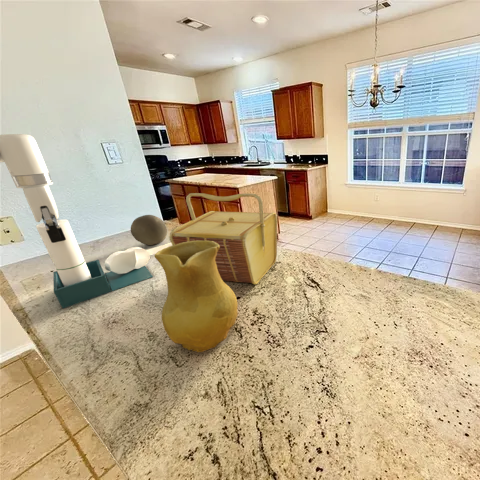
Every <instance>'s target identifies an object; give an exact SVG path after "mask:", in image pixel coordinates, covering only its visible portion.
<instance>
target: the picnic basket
mask: <svg viewBox="0 0 480 480" xmlns="http://www.w3.org/2000/svg"><path fill="white" fill-rule="evenodd" d="M192 197H202V198H205V199H206V200H210V201H214V202H232V201H237V200H239V199H240V198H242V197H243V198H244V197H245V198H246V197H252V198H255V199H257V202H258V212H252V211H249V212H248V211H214V210H210V211H208V212H206V213H204V214H201V215H200V216H197V217H196V215H195V211H194V208H193V205H192V202H191V198H192ZM185 198H186V199H185V202H186V204H187V209H188V211H189V214H190V217H191V220H189V221H187V222H185V223H183V224H181V225H179V226H177V227H174V228H173V229H172V230H171V231H170V233H169V238H168V239H169V241H170V243H172V245H176V244H179V243H183V242H189V241H201V240H202V241H213V242H216V243H218V244H219V246H220V248H219V250H218V252H217V255H216V258H215V262H216V265H217V269H218V272H219V274H220V277H221V279H222V280H223V281H224V282H235V283H247V284H252V285H254V286H255V285H258V284H259V282H260V281H261V280H262V279H263V277H264V276H266V274H267V273H268V272H269V270H270V269H271V268H272V266H273V265H274V264H276V260H277V255H278V215H277V213H276V212H264V203H263V202H264V201H263V199H262V197H261V196H259V195H258V194H256V193H238V194H233V195H228V196H219V195H213V194H208V193H204V192H203V193H201V192H200V193H199V192H195V193H194V192H191V193H188V195H187V196H185Z"/></svg>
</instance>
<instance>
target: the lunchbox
mask: <svg viewBox="0 0 480 480" xmlns="http://www.w3.org/2000/svg"><path fill="white" fill-rule="evenodd" d="M85 263H86V265H87V267H88V270H89V272H90V275H91V277H92V278H91V279H88V280H85V281H82V282H78V283H75V284H72V285H69V286H66V287H64V285H63V283H62V281H61V279H60V276H59V274H58V272H57V270H55V271H53V274H52V275H53V293H54V295H55V297H56V299H57V301H58V302H59V306H61V309H67V308H68V307H71V306H75V305H77V304H81V303H83V302H87V301H88V300H91V299H94V298H98V297H100V296H103V295H106V294H109V293H111V292H115V291H117V290H121V289H122V288H126V287H128V286H129V287H130V286H131V285H134V284H138V283H140V282H143V281H146V280H149V279H152V278H153V277H154V276H153V274H152V273H151V272H150V270H149V269H148V268H147V266H146V265H145V266H143V267H141V268H139V269H133V270H131V271H129V272H128V273H123V274H117V273H114V272H111V271H108V272H106V273H105V271H104V269H103V267H102V264H101V262H100V260H99V259H95V260H91V261H87V262H85Z"/></svg>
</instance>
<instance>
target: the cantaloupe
mask: <svg viewBox="0 0 480 480" xmlns="http://www.w3.org/2000/svg"><path fill="white" fill-rule="evenodd" d="M130 234H131V235H132V237H133V239H135V241H137V242H139V243H141V244H142V245H146V246H155V245H159V244H161V243H162V242H163V241H164V240H165V239H166V238H167V236H168V227H167V225H166V223H165V221H164V220H163V219H161V218H160V217H158V216H156V215H154V214H144V215H141V216H138V217H136V218H135V219H134V220H133V221H132V223H131V225H130Z"/></svg>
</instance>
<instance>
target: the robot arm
mask: <svg viewBox="0 0 480 480" xmlns="http://www.w3.org/2000/svg"><path fill="white" fill-rule="evenodd" d="M1 163H4V165H5V166H6V168H7V171H8V172H9V175H10V177H11V179H12V181H13V183H14V185H15V187H16V188H17V189H22V191H23V194H24V197H25V199H26V201H27V204H28V206H29V209H30V210H31V213H32V216H33V218H34V220H35V222H37V223H41V221H42V223H44V224H45V227H46V229H47V230H46V231H47V233H48V236H49V238H50V240H51V242H52V243H55V242H60V241H64V240H66V238H65V236H64V233H63V231H62V229H61V227H59V225H58V222H57V220H59V217H60V216H59V210H58V207H57V203H56V201H55V198H54V196H53V195H54V194H52V191H51V187H50V186H51V185H54V182H53V180H52V179H53V178H52V177H51V174H50V172H49V169H48V168H47V165H46V162H45V160H44V157H43V155H42V153H41V150H40V148H39V146H38V143H37V141H36V139H35V137H33V136H32V135H30V134H26V133H9V134H4V133H3V134H0V164H1Z"/></svg>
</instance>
